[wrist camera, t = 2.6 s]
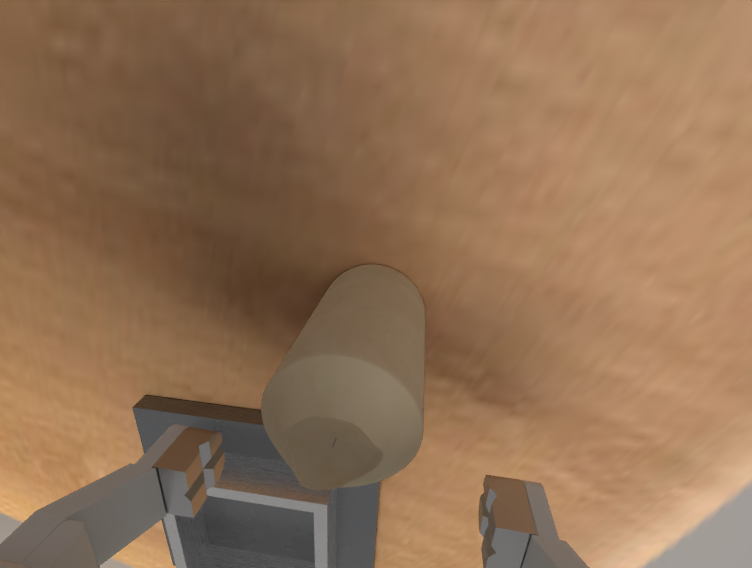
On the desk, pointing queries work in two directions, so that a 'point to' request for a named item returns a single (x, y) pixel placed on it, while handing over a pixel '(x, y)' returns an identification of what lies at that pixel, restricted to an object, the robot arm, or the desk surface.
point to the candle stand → (260, 500)
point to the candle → (352, 383)
